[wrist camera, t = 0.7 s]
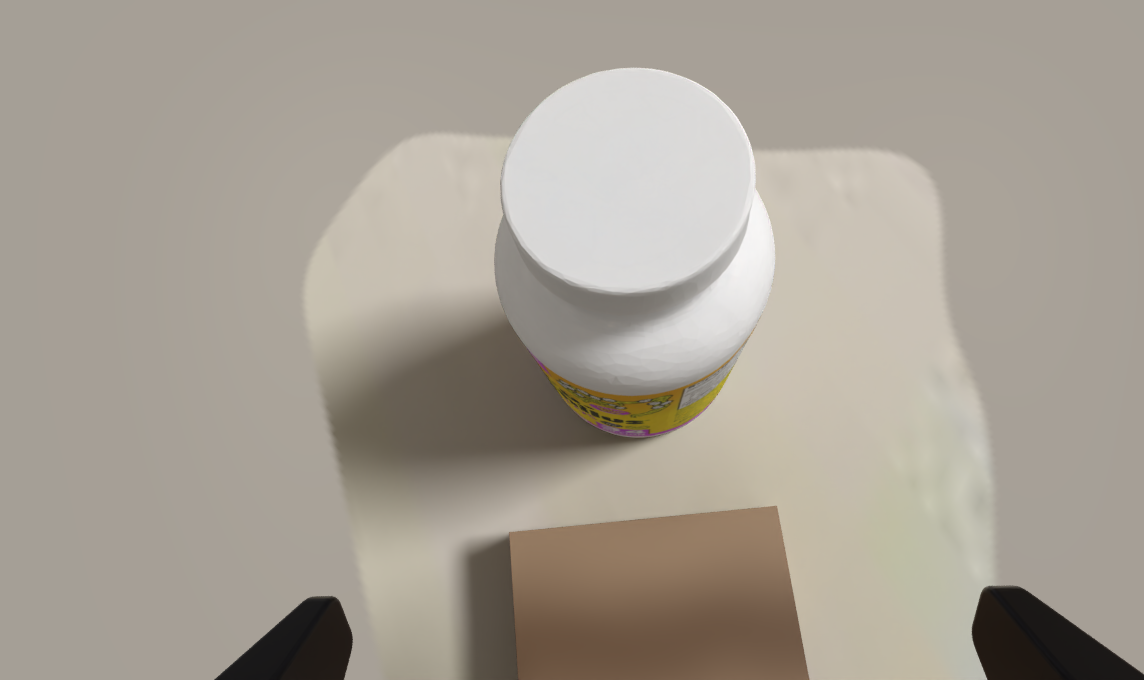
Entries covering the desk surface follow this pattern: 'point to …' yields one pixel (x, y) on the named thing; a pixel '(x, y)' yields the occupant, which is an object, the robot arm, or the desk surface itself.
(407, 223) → the desk surface
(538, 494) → the desk surface
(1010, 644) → the robot arm
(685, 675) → the walnut plinth
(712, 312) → the supplement bottle
